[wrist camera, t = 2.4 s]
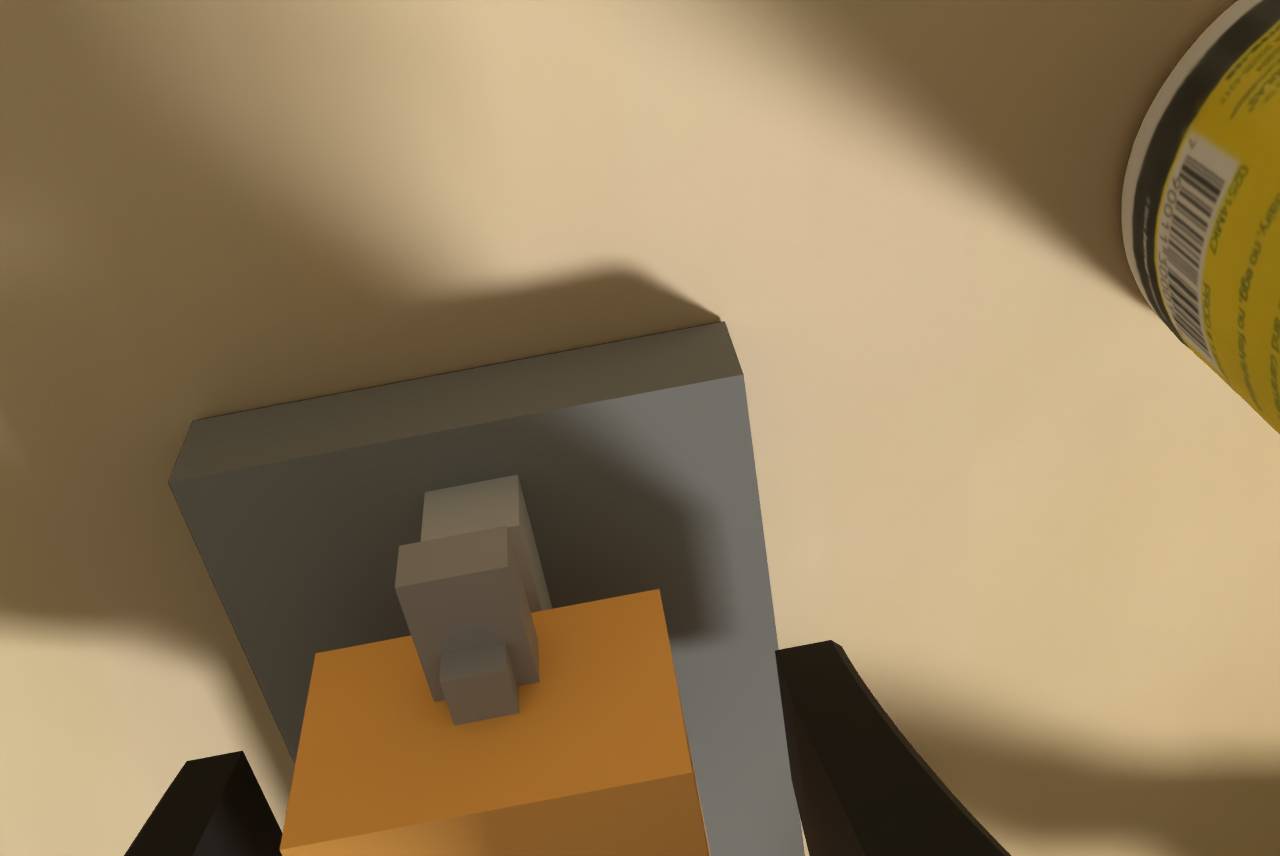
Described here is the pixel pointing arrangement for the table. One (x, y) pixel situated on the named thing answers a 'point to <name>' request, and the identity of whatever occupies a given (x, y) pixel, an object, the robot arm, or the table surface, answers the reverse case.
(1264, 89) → the supplement bottle
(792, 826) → the linear slider rail
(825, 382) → the table surface
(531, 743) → the orange cube with peg
